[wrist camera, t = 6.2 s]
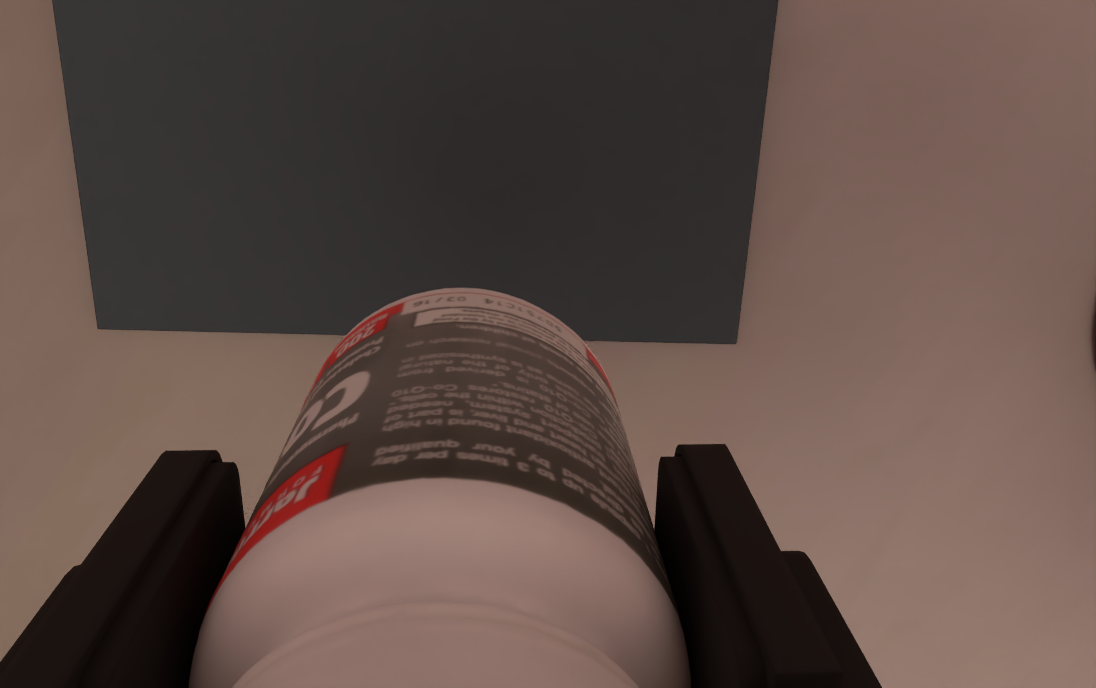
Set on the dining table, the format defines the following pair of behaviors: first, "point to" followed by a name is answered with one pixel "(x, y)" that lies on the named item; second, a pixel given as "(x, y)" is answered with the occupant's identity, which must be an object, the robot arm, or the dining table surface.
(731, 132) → the mat
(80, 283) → the dining table surface
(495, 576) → the pill bottle
